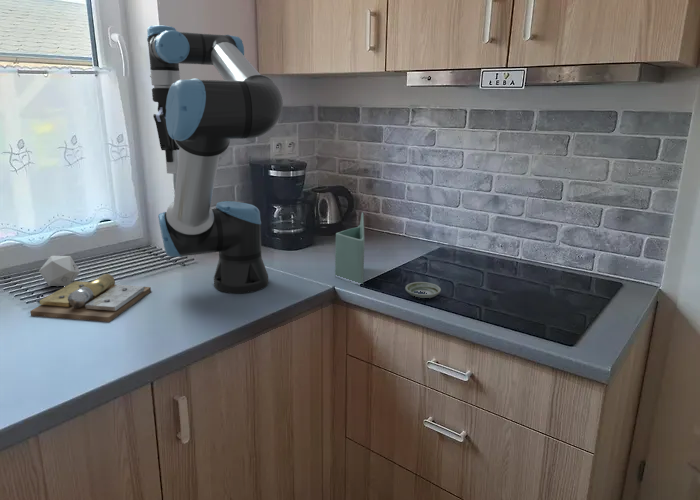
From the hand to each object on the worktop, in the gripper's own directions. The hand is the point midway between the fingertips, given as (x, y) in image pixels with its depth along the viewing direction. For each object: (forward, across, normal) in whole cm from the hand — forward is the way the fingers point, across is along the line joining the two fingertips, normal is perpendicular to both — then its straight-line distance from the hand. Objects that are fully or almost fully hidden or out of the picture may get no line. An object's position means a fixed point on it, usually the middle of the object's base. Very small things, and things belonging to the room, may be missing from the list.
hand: (172, 173), depth 151 cm
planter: (+30, -4, +51) cm, 59 cm away
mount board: (+29, +28, -10) cm, 42 cm away
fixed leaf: (+28, +28, -6) cm, 40 cm away
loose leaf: (+28, +28, -14) cm, 42 cm away
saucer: (+30, +7, +73) cm, 79 cm away
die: (+30, +18, -26) cm, 43 cm away
